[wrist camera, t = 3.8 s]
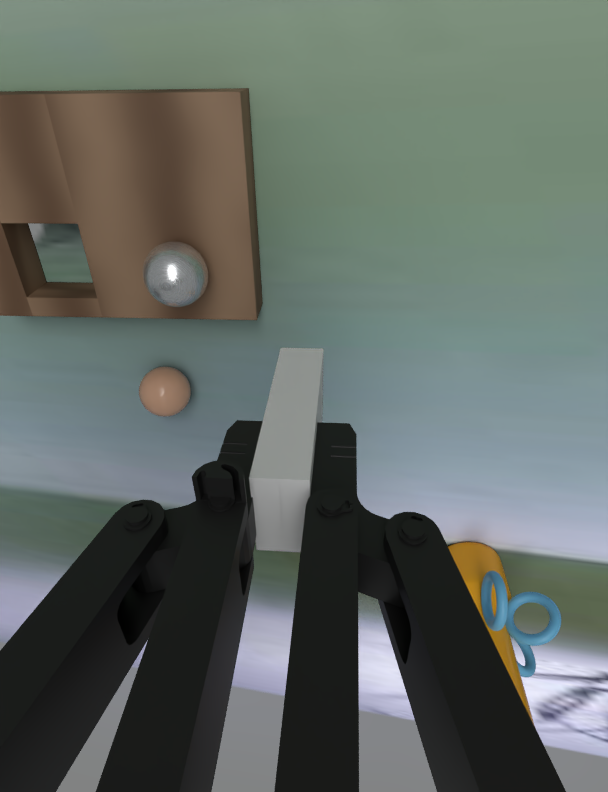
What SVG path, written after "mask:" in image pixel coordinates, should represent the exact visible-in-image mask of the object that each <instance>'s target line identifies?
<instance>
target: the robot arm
mask: <svg viewBox="0 0 608 792" xmlns="http://www.w3.org/2000/svg"><path fill="white" fill-rule="evenodd" d="M322 415H323V349H313V348H281V349H280V353H279V357H278V361H277V365H276V369H275V373H274V378H273V382H272V386H271V390H270V394H269V398H268V402H267V406H266V410H265V414H264V418H263V421H239V420H237V421H236V422H235V423H234V424H233V425H232V426H231V427H230V428H229V429H228V430H227V433H226V436H225V439H224V442H223V445H222V448H221V451H220V454H219V457H218V460H217V461H213V462H210V463H207V464H204V465H203V466H201V467H200V468H199V469H197V470H196V471H195V473H194V474H193V476H192V481H193V486H194V491H195V496H196V501H195V502H193V503H191V504H189V505H186V506H182V507H178V508H173V509H169V510H164V509H163V508H162V507H161V505H160V504H158V503H156V502H154V501H152V500H139V501H134V502H131V503H129V504H127V505H125V506H123V507H122V508H121V509H119V510H118V511H117V512H116V513H115V514H114V515H113V517H112V518H111V519H110V520H109V521H108V523H107V524H106V525H105V526H104V527H103V529H102V530H101V531H100V532H99V533H98V534H97V536H96V537H95V538H94V539H93V540H92V542H91V543H90V544H89V545H88V546H87V548H86V549H85V550H84V551H83V552H82V554H81V555H80V556H79V557H78V558H77V560H76V561H75V562H74V563H73V564H72V566H71V567H70V568H69V569H68V570H67V572H66V573H65V574H64V575H63V576H62V578H61V579H60V580H59V581H58V582H57V584H56V585H55V586H54V587H53V588H52V590H51V591H50V592H49V593H48V594H47V596H46V597H45V598H44V599H43V600H42V602H41V603H40V604H39V605H38V606H37V607H36V609H35V610H34V611H33V612H32V613H31V615H30V616H29V617H28V618H27V619H26V621H25V622H24V623H23V624H22V625H21V627H20V628H19V629H18V630H17V631H16V633H15V634H14V635H13V636H12V637H11V639H10V640H9V641H8V642H7V643H6V645H5V646H4V647H3V648H2V649H1V651H0V792H56V791H57V789H58V787H59V786H60V784H61V782H62V781H63V779H64V777H65V776H66V774H67V772H68V770H69V769H70V767H71V766H72V764H73V762H74V761H75V759H76V757H77V756H78V754H79V753H80V751H81V749H82V748H83V746H84V744H85V743H86V741H87V739H88V738H89V736H90V734H91V733H92V731H93V729H94V728H95V726H96V724H97V723H98V721H99V719H100V718H101V716H102V714H103V713H104V711H105V709H106V708H107V706H108V704H109V703H110V701H111V699H112V698H113V696H114V695H115V693H116V691H117V690H118V688H119V686H120V685H121V683H122V681H123V679H124V678H125V676H126V675H127V673H128V671H129V670H130V668H131V666H132V665H133V663H134V661H135V660H136V658H137V656H138V655H139V653H140V652H141V650H142V648H143V647H144V645H145V643H146V642H147V640H148V642H147V645H146V648H145V650H144V653H143V656H142V659H141V662H140V665H139V668H138V671H137V674H136V677H135V680H134V682H133V685H132V688H131V692H130V694H129V697H128V700H127V703H126V706H125V709H124V712H123V714H122V717H121V720H120V723H119V726H118V729H117V732H116V735H115V738H114V741H113V743H112V746H111V749H110V752H109V755H108V758H107V761H106V764H105V767H104V769H103V772H102V775H101V778H100V781H99V784H98V787H97V790H96V792H211V790H212V785H213V779H214V774H215V769H216V764H217V759H218V752H219V748H220V743H221V738H222V732H223V727H224V722H225V717H226V711H227V706H228V701H229V695H230V689H231V685H232V680H233V674H234V669H235V664H236V659H237V653H238V648H239V643H240V637H241V632H242V627H243V622H244V616H245V611H246V606H247V601H248V595H249V590H250V585H251V579H252V574H253V569H254V560H253V550H254V545H255V540H256V549H257V550H268V551H286V552H301V554H300V563H299V572H298V582H297V591H296V600H295V609H294V618H293V627H292V636H291V646H290V655H289V664H288V673H287V682H286V691H285V700H284V710H283V720H282V728H281V737H280V746H279V755H278V765H277V774H276V783H275V792H359V730H358V729H359V726H358V725H359V724H358V723H359V721H358V720H359V706H358V592H360V593H363V594H365V595H368V596H371V597H373V598H376V599H378V601H379V605H380V608H381V611H382V615H383V618H384V621H385V624H386V628H387V631H388V634H389V637H390V641H391V644H392V647H393V650H394V653H395V657H396V660H397V663H398V666H399V670H400V673H401V676H402V679H403V683H404V686H405V689H406V692H407V696H408V699H409V702H410V705H411V708H412V712H413V715H414V718H415V721H416V725H417V727H418V731H419V734H420V737H421V741H422V743H423V747H424V750H425V754H426V757H427V760H428V763H429V767H430V770H431V773H432V776H433V779H434V783H435V786H436V789H437V792H566V791H565V789H564V787H563V785H562V783H561V780H560V778H559V776H558V774H557V772H556V770H555V768H554V766H553V764H552V762H551V760H550V758H549V756H548V754H547V751H546V749H545V747H544V745H543V743H542V741H541V739H540V737H539V735H538V733H537V731H536V729H535V727H534V725H533V722H532V720H531V718H530V716H529V714H528V712H527V710H526V708H525V706H524V704H523V702H522V700H521V698H520V696H519V693H518V691H517V689H516V687H515V685H514V683H513V681H512V679H511V677H510V675H509V673H508V671H507V669H506V666H505V664H504V662H503V660H502V658H501V656H500V654H499V652H498V650H497V648H496V646H495V644H494V642H493V640H492V637H491V635H490V633H489V631H488V629H487V627H486V625H485V623H484V621H483V619H482V617H481V615H480V613H479V611H478V608H477V606H476V604H475V602H474V600H473V598H472V596H471V594H470V592H469V590H468V588H467V586H466V584H465V582H464V579H463V577H462V575H461V573H460V571H459V569H458V567H457V565H456V563H455V561H454V559H453V557H452V555H451V553H450V550H449V548H448V546H447V544H446V542H445V540H444V538H443V536H442V534H441V532H440V530H439V528H438V527H437V525H436V524H435V523H434V521H432V520H431V519H429V518H428V517H426V516H425V515H422V514H418V513H415V512H403V513H399V514H396V515H394V516H393V517H392V518H390V519H386V518H383V517H380V516H378V515H375V514H373V513H371V512H369V511H368V510H367V509H365V508H364V507H363V506H362V505H361V503H360V502H359V500H358V497H357V465H356V433H355V432H354V430H353V428H352V427H351V425H350V424H347V423H322ZM148 638H149V639H148Z"/></svg>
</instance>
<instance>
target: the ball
mask: <svg viewBox="0 0 608 792" xmlns="http://www.w3.org/2000/svg"><path fill="white" fill-rule="evenodd" d="M190 395H191V388H190V384H189V381H188V380H187V378H186V377H185V375H184V374H183V373H182V372H180V371H179V370H177V369H175V368H172V367H158V368H155V369H153V370H151V371H149V372H148V373H147V374H146V375H145V376H144V377H143V379H142V381H141V383H140V386H139V397H140V400H141V402H142V404H143V406H144V407H145V408H146V409H147V410H148V411H149V412H151V413H153V414H155V415H158V416H163V417H167V416H172V415H175V414H177V413H179V412H180V411H182V410H183V409H184V408H185V407H186V405H187V404H188V402H189V399H190Z"/></svg>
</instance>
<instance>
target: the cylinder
mask: <svg viewBox="0 0 608 792" xmlns="http://www.w3.org/2000/svg"><path fill="white" fill-rule="evenodd" d="M448 548H449V550H450V553H451V555H452V557H453V559H454V561H455V563H456V565H457V567H458V569H459V571H460V573H461V575H462V577H463V579H464V582H465V584H466V586H467V588H468V590H469V592H470V594H471V596H472V598H473V600H474V602H475V604H476V606H477V608H478V611H479V613H480V615H481V617H482V619H483V621H484V623H485V625H486V627H487V629H488V631H489V633H490V635H491V637H492V640H493V642H494V644H495V646H496V648H497V650H498V652H499V654H500V656H501V658H502V660H503V662H504V664H505V666H506V669H507V671H508V673H509V675H510V677H511V679H512V681H513V683H514V685H515V687H516V689H517V691H518V693H519V696H520V698H521V700H522V702H523V704H524V706H525V708H526V710H527V712H528V714H529V716H530V718H531V720H532V722H533V719H532V715H531V712H530V708H529V704H528V701H527V697H526V694H525V690H524V686H523V683H522V679H521V676H522V677H530V676H532V675H533V674H534V672H535V668H536V663H535V658H534V654H533V652H532V649H531V647H530V645H531V646H537V645H542V644H545V643H547V642H549V641H551V640H552V639H553V638H554V637H555V636H556V635H557V633H558V632H559V629H560V626H561V615H560V612H559V609H558V607H557V606H556V604H555V603H554V602H553V601H552V600H551V599H550V598H548V597H547V596H545V595H543V594H540V593H536V592H524V593H520V594H518V595H516V596H514V597H513V598H511V593H510V590H509V586H508V583H507V580H506V576H505V573H504V570H503V566H502V563H501V560H500V557H499V555H498V554H497V553H496V552H495V550H493V549H492V548H491V547H489V546H487V545H484V544H481V543H476V542H462V543H457V544H453V545H450V546H448ZM528 602H535V603H539V604H541V605H543V606H544V607H545V608H546V609H547V610H548V612H549V615H550V621H549V624H548V626H547V627H546V629H545V630H543V631H542V632H540V633H537V634H526V633H523V632H521V631H520V630H519V629H517V627H516V626H515V624H514V621H513V616H514V612H515V610H516V609H517V608H518V607H519V606H520V605H522V604H524V603H528ZM510 636H511V637H512V638H514V639H515V641H516V642H517V643H518V645H519V646H520V648H521V650H522V652H523V655H524V658H525V666H522V665H521V664H519V663H518V662H517V661H516V657H515V653H514V650H513V646H512V642H511V638H510ZM533 725H534V723H533ZM534 727H535V726H534Z"/></svg>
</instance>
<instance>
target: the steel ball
mask: <svg viewBox="0 0 608 792" xmlns="http://www.w3.org/2000/svg"><path fill="white" fill-rule="evenodd" d="M143 280H144V284H145V286H146V288H147V290H148V292H149V293H150V294H151V295H152V296H153V297H154V298H155V299H156V300H157V301H159V302H160V303H162V304H165V305H168V306H172V307H182V306H187V305H190V304H192V303H193V302H195V301H196V300H198V299H199V298H200V297H201V295H202V294H203V293H204V291H205V289H206V286H207V283H208V270H207V266H206V263H205V261H204V259H203V257H202V256H201V255H200V253H199V252H198V251H197V250H195V249H194V248H193V247H191V246H190V245H187V244H185V243H182V242H174V241H172V242H165V243H162V244H160V245H158V246H156V247H155V248H154V249H152V250H151V251H150V253H149V254H148V255H147V257H146V259H145V261H144V264H143Z"/></svg>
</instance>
